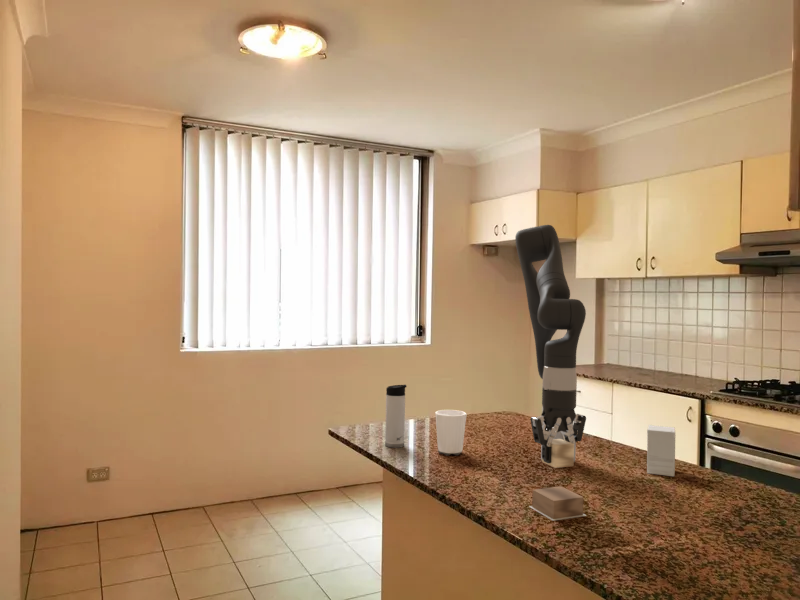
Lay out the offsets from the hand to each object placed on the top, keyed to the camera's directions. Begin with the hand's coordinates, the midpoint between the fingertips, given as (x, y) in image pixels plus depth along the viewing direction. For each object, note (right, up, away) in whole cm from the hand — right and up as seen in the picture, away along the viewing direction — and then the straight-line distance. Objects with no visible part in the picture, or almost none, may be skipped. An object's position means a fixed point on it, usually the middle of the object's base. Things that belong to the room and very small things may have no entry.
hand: (557, 460), depth 137 cm
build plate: (+2, -12, +4) cm, 13 cm away
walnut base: (0, -11, 0) cm, 11 cm away
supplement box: (+39, -13, +36) cm, 55 cm away
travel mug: (-37, -11, +61) cm, 72 cm away
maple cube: (0, -1, 0) cm, 1 cm away
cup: (-20, -12, +52) cm, 57 cm away
